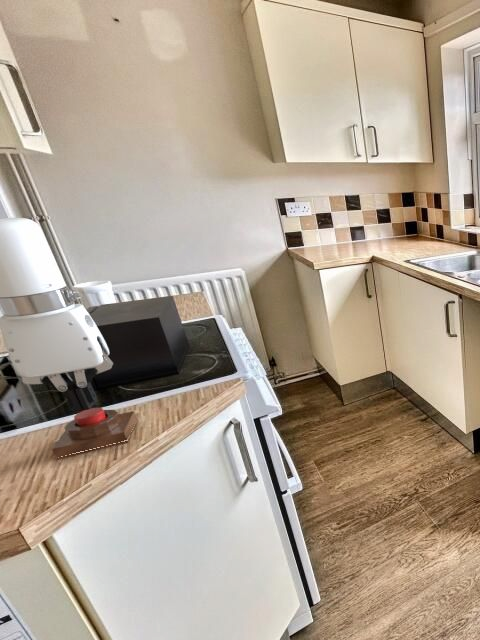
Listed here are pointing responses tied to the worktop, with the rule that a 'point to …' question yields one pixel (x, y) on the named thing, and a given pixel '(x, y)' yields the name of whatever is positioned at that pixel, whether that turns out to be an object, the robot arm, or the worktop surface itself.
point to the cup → (96, 293)
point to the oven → (141, 340)
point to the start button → (89, 417)
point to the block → (95, 434)
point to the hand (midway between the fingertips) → (86, 406)
